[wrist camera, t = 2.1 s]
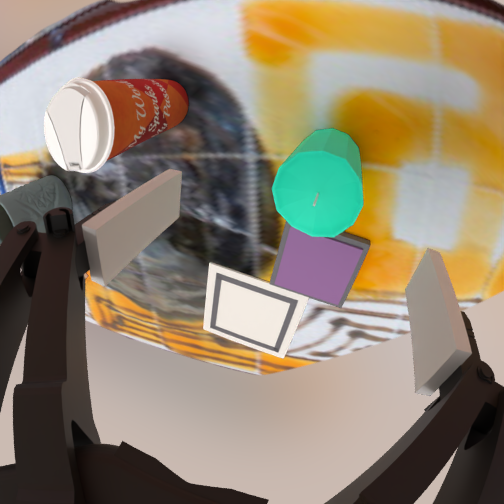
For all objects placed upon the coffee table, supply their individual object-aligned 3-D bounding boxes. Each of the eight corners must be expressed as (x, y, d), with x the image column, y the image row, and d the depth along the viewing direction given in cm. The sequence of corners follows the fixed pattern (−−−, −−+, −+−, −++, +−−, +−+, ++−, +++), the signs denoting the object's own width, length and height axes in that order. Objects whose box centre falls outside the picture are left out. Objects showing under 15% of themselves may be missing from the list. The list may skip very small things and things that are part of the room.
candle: (370, 176, 27) (377, 234, 17) (314, 195, 30) (290, 259, 20) (346, 118, 25) (341, 140, 15) (288, 141, 28) (248, 178, 18)
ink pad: (370, 240, 30) (370, 247, 29) (341, 302, 35) (340, 310, 34) (288, 213, 32) (286, 219, 30) (271, 279, 37) (268, 286, 36)
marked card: (309, 295, 36) (309, 297, 36) (284, 357, 44) (283, 359, 43) (210, 261, 38) (209, 263, 38) (204, 327, 46) (203, 329, 45)
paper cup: (200, 135, 30) (110, 176, 19) (143, 139, 32) (50, 180, 21) (195, 64, 26) (94, 67, 15) (136, 75, 28) (35, 93, 17)
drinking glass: (57, 229, 47) (10, 265, 37) (34, 181, 43) (-17, 211, 33) (83, 214, 42) (27, 253, 32) (57, 159, 38) (-4, 189, 28)
